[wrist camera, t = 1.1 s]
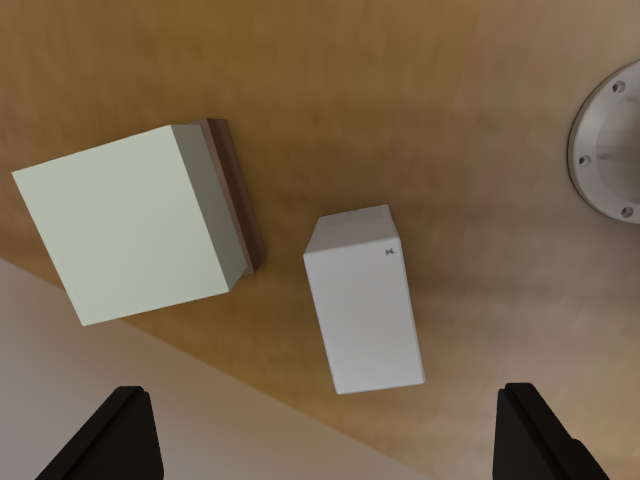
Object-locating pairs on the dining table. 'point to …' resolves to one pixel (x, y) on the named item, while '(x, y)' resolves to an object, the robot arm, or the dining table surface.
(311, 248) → the skincare box
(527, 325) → the dining table surface
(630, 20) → the dining table surface
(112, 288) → the grey green slab
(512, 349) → the dining table surface
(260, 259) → the walnut slab
